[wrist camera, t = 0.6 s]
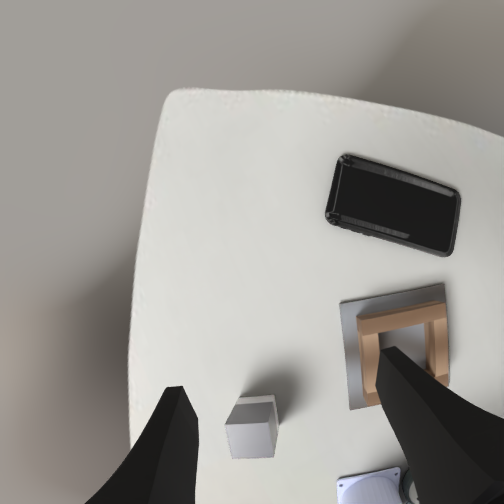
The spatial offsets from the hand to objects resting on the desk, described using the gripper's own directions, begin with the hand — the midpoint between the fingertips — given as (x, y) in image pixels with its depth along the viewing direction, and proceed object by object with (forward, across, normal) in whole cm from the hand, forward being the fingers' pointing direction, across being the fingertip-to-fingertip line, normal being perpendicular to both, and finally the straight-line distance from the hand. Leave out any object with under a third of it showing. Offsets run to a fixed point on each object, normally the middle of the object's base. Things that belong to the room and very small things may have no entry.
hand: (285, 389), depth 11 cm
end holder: (+15, -13, +16) cm, 25 cm away
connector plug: (+15, +3, +21) cm, 25 cm away
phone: (+23, -16, +3) cm, 28 cm away
